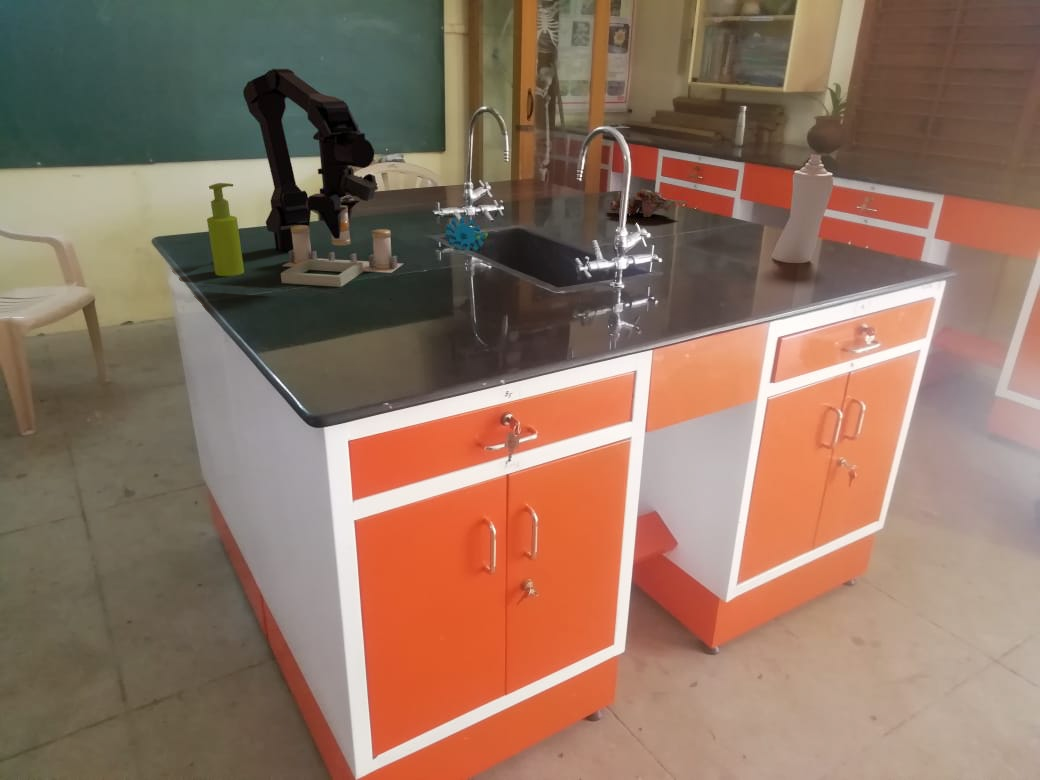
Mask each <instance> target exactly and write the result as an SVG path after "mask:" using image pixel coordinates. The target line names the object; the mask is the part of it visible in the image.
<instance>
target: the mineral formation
mask: <svg viewBox="0 0 1040 780" xmlns="http://www.w3.org/2000/svg"><path fill="white" fill-rule="evenodd" d="M621 190H622V189H620V190H619V192H618V195H617V196H618V198H617V200H615V201H614V200H612V201H610V204H609V211H612V212H613V213H614V212H616V213H617V215H619V208H620V198H621ZM677 203H678V204H681V203H682V204H683V205H684V204H686V201H685V200H684V199H683V200H680V199H679V200H678V199H675V200H674V199H669V198H663V197H662V193H661V192H659V191H654V193H653V192H652V191H651V190H649V189H645V188H642V189H641V190H639V191H638V192H636V193H635V194H634V196H632V195H631V194H630V199H629V208H628V214H630V215H631V214H632V215H631V216H633V215H634V213H636V214H637V212H640V213H641V212H642V214H643V215H642V217H643V216H645V217H650V216H651V217H652V215H653V214H654V213H655V212H657V211H660V210H661V209H662V210H665V211H666V212H668V211H670V210H671V209H672V208H673V207H674V205H676V204H677ZM651 217H650V218H651Z"/></svg>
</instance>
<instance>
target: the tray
mask: <svg viewBox="0 0 1040 780" xmlns="http://www.w3.org/2000/svg"><path fill="white" fill-rule="evenodd" d="M308 271H325V272H326V271H327V272H337V273H338V272H340V273H339V274H321V273H319V274H318V273H307V272H308ZM362 273H364V271H363V263H362V262H346V261H329V260H312V259H306V260H304V261H302V262H300V263H298V264H297V265H295V266H293V267H289V268H288V269H285V270H284V271H282V272H281V273H280V279H281V284H293V285H308V286H309V285H311V286H324V287H325V286H327V287H339V288H342V287H343V286H344V285H346V284H348V283H349V282H351V281H352V280H353V279H355V278H356V277H357V276H359V275H361V274H362ZM282 290H284V291H285V290H286V291H295V292H296V291H299V292H311V293H312V292H313V293H316V292H317V293H330V294H340V295H342V294H343V293H344V292H343V291H334V290H333V291H329V290H317V289H303V288H301V289H300V288H285V287H282Z"/></svg>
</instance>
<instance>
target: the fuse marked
mask: <svg viewBox="0 0 1040 780" xmlns="http://www.w3.org/2000/svg"><path fill="white" fill-rule="evenodd" d="M341 207H346V209H345V210H344V211H343V212H342V214H341V221H340V238H338V239H336V238H334V237H333V235H332V234H331V244H332V245H333V246H349V245H351V237H350V222H349V220H348V206H344V205H341Z"/></svg>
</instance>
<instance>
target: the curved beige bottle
mask: <svg viewBox="0 0 1040 780" xmlns="http://www.w3.org/2000/svg"><path fill="white" fill-rule="evenodd" d="M821 158H822V155H821V154H816V153H815V154H810V158H809V159H808V162H806V163H805V165H804V167H801V168H800V170H795V171H794V174H793V175H792V192H791V195H792V196H791V204H790V215H789V219H788V220H787V222H786V224H785V227H784V228H783V231H782V233H781V235H780V237H779V239H778V241H777V243H776V245H775V247H774V250H773V252H772V255H771V259H773V260H775V261H777V262H781V263H788V264H805V263H809V262H810V260H811V258H812V256H813V254H814V252H815V250H816V246H817V242H818V238H819V235H820V234H819V233H820V229H821V225H822V220H823V218H824V216H825V213H826V209H827V206H828V205H829V202H830V199H831V196H832V193H833V192H834V177H833V173H832V172H829V171H827V169H825V168H824V167H825V164H822V163H823V162H822V160H821Z"/></svg>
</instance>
